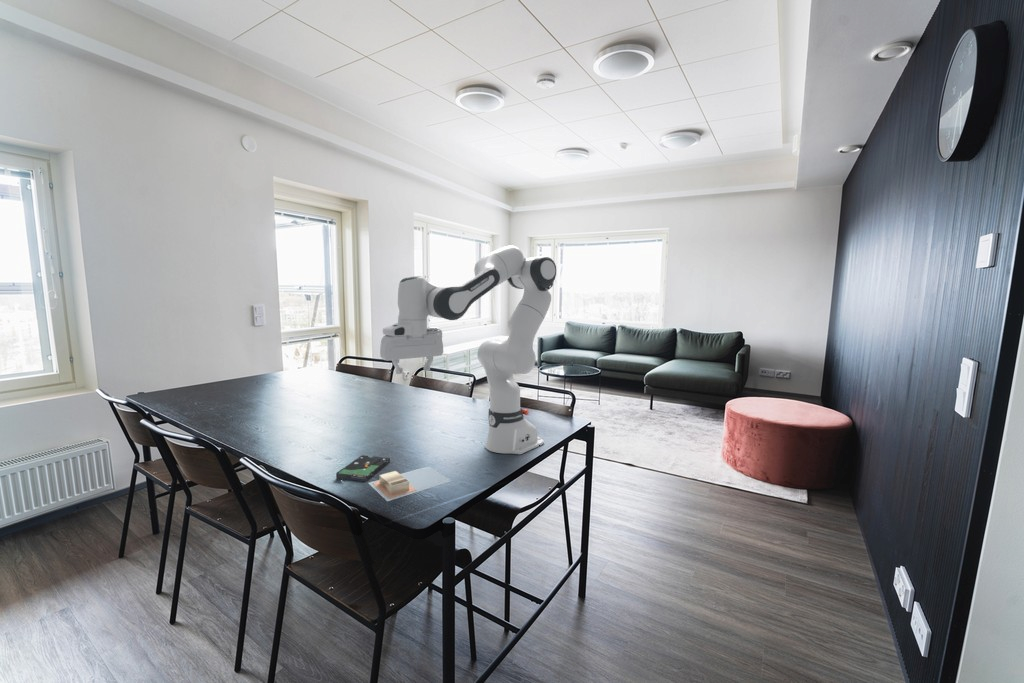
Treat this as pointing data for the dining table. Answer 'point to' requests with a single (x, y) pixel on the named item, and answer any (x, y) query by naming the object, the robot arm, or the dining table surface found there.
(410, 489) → the mat
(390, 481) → the cream curved ramp
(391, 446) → the dining table surface
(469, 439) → the dining table surface
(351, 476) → the disk drive
